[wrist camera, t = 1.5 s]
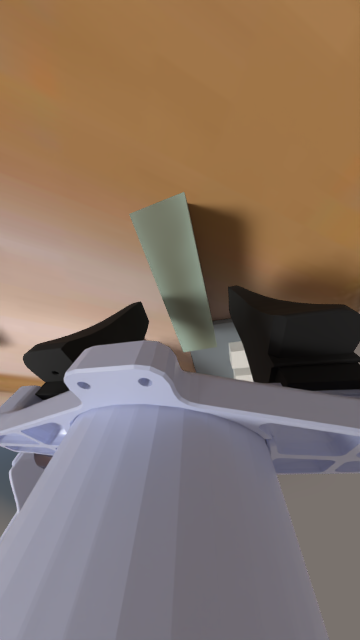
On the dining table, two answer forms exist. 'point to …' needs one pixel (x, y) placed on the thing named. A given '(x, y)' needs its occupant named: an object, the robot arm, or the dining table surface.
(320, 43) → the dining table surface
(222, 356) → the slate board
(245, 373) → the chalk tile
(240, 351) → the chalk tile
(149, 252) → the block
